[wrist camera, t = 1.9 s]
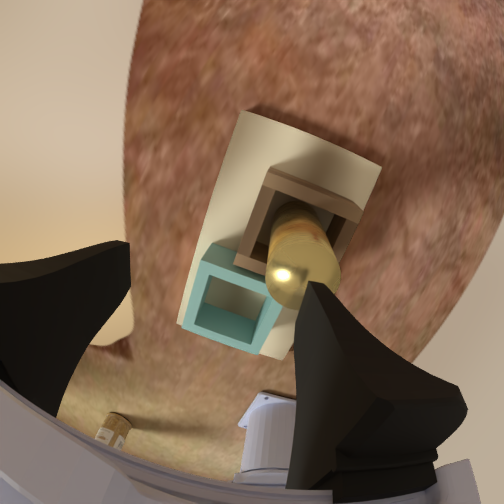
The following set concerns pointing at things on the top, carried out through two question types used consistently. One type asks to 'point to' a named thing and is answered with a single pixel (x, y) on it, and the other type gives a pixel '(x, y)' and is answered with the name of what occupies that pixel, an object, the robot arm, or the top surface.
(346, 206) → the mount
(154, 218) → the top surface
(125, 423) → the spice jar
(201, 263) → the socket
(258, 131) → the board
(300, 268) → the pin
